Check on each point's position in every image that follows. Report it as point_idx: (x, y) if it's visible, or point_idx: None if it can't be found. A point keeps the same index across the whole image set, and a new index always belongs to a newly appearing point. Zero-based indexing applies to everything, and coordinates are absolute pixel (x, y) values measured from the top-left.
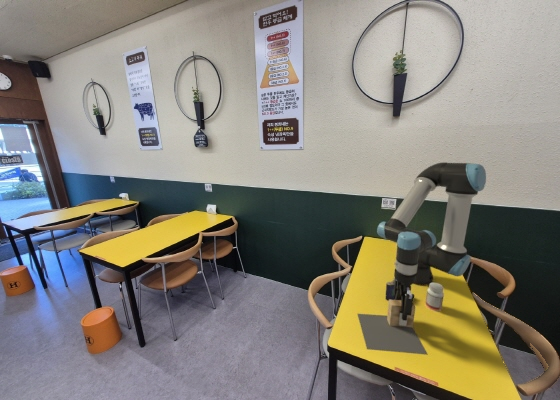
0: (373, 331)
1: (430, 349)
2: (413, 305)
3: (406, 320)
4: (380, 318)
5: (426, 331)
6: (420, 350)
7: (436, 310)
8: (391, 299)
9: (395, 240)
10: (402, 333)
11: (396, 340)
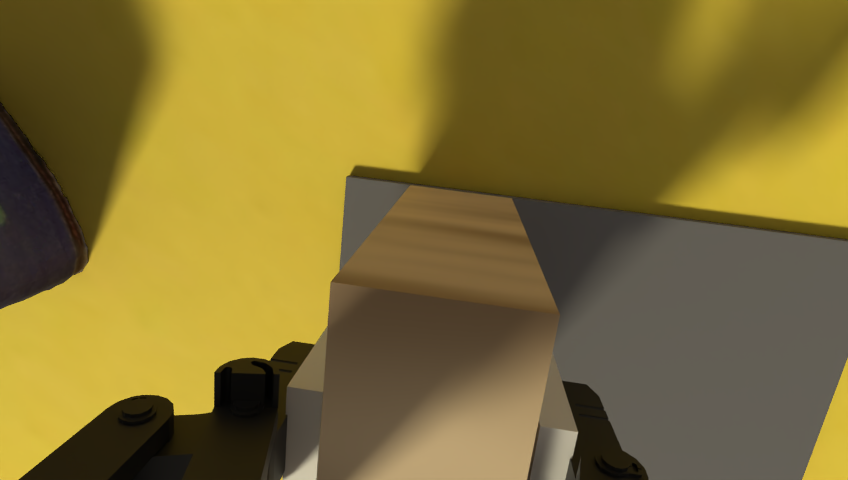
0: None
1: (816, 168)
2: (510, 338)
3: (586, 385)
4: None
5: (569, 57)
6: (826, 294)
7: None
8: (56, 222)
9: None
10: (586, 354)
11: (665, 452)
